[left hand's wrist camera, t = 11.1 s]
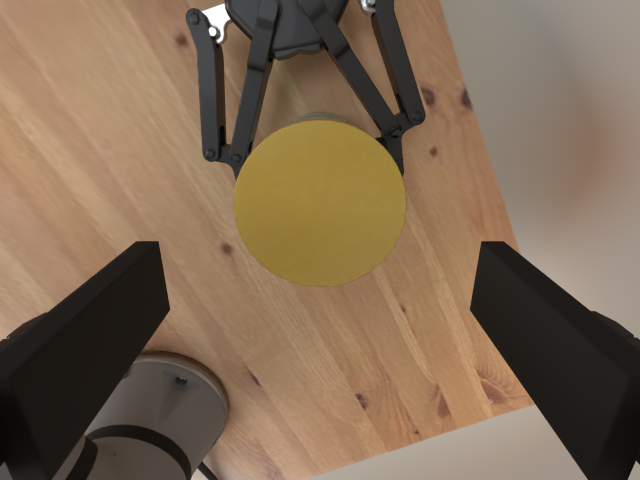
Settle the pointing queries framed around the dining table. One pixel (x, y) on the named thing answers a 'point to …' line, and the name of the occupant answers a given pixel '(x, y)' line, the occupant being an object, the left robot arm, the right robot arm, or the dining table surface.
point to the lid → (319, 202)
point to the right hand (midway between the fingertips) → (329, 229)
